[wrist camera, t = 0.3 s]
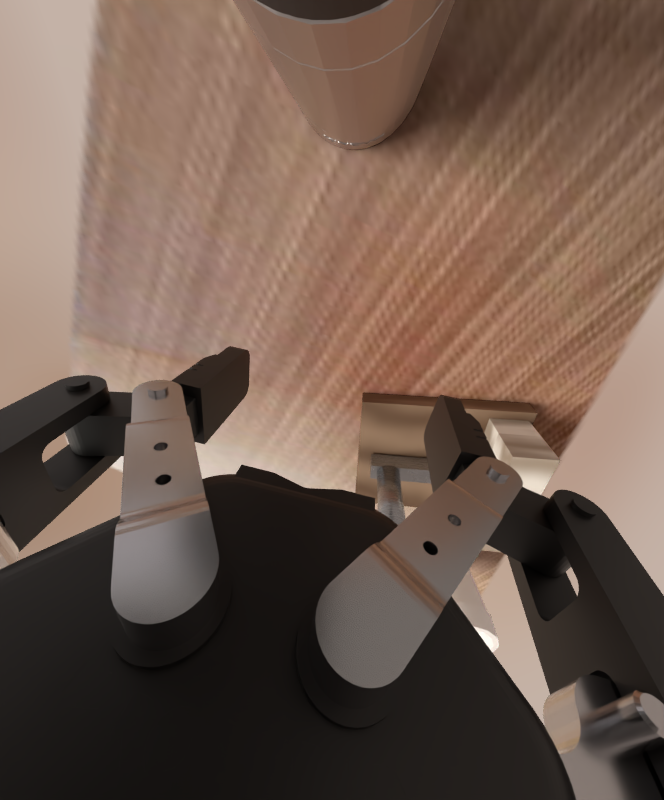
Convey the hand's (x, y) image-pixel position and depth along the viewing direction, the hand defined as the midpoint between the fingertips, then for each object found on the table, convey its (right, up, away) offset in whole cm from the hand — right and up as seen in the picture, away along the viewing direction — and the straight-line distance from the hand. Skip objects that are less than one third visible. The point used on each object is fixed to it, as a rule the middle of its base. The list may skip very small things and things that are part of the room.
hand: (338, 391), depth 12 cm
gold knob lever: (+9, -8, +23) cm, 26 cm away
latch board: (+12, -7, +25) cm, 28 cm away
